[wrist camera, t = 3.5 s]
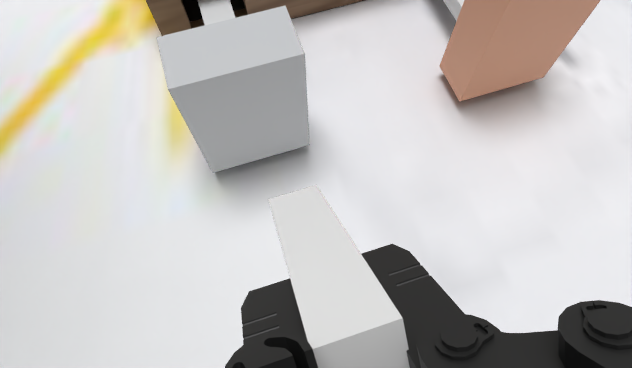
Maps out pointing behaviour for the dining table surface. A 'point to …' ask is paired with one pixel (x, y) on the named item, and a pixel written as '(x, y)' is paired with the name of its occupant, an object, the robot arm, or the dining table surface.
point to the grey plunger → (239, 84)
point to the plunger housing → (174, 17)
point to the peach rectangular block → (507, 41)
